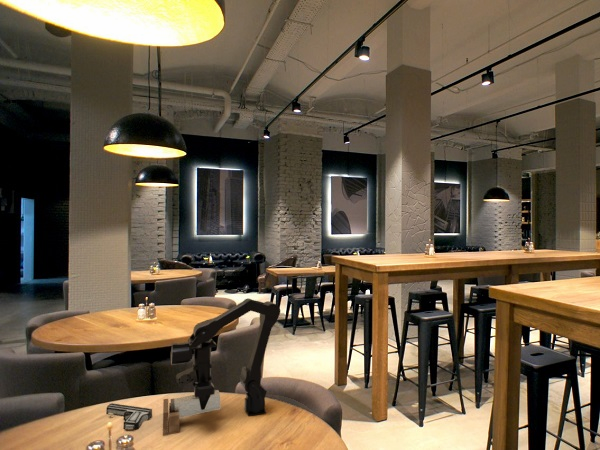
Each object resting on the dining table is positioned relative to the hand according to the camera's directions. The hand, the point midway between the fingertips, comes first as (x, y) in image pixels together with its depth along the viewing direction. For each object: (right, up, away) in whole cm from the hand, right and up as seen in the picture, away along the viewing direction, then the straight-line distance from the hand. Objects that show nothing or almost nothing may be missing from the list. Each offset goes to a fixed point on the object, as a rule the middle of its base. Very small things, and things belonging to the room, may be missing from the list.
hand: (202, 406), depth 127 cm
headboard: (-9, -5, -3) cm, 10 cm away
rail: (-2, -1, -1) cm, 2 cm away
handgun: (-28, -6, 0) cm, 28 cm away
